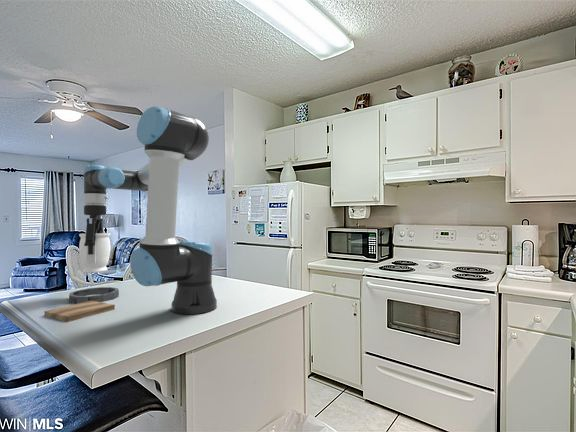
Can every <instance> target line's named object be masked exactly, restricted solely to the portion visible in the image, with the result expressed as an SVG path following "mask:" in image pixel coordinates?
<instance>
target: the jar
mask: <svg viewBox="0 0 576 432" xmlns="http://www.w3.org/2000/svg"><path fill="white" fill-rule="evenodd" d="M78 236H79V237H80V240H79V244H78V245H79V246H78V254H79V258H80V264H81V265H82V267H83V269H82V273H84V274H85V273H86V274H92V273H93V274H94V273H95V274H96V273H103V272H107V271H108V270H109V269H108V267H107V265H108V263H109V262H110V255H111V249H112V248H111V247H112V245H111V239H110V236H111V232H103V233H96V234H95V236H96V240H95V246H96V263H87V246H84V244H85V239H86V232H84V233H79V234H78Z"/></svg>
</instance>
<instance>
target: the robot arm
mask: <svg viewBox="0 0 576 432" xmlns="http://www.w3.org/2000/svg"><path fill="white" fill-rule="evenodd" d="M136 138H137V140H138V141H139V143H141V144H142V145H144V153H145V155H146V156H148V157H149V158H148V159H149V160H148V161H149V162H147V163H146V164H145V165H144V166H142V167H141V168H140V169H137V171H133V170H127V169H126V170H125V169H120V168H118V167H115V166H112V167H111V166H108V167H106V166H104V165H99V164H87V165H84V168H83V204H84V206H83V214H84V215H85V216H89V218H86V230H85V233H86V239H85V244H84V246H87V263H96V246H95V240H96V236H95V234H96V233H104V219H103V218H101V216H105V215H107V206H106V204H107V200H108V199H109V197H108V196H107V189H108V190H109V189H111V190H123V191H124V190H126V191H137V192H138V191H139V192H147V198H146V199H147V200H146V201H147V202H146V217H145V218H146V219H145V236H144V237H143V238H141V239H140V241H139V246H138V248H136V249H133V251H132V253H131V255H130V259H129V265H130V269H131V273H132V276H133V277H134V279H135V281H136V282H137V283H138V284H139V285H141V286H143V287H153V286H155V287H157V286H161V285H165V284H171V283H176V290H175V293H174V296H173V300H172V301H171V312H172V313H174V314H180V315H197V314H203V313H208V312H211V311H214V310H215V309H217V306H218V305H217V304H218V303H217V298H216V296H215V291H214V288H213V283H212V281H213V280H212V279H213V272H212V270H213V252H212V250H213V249H212V246H211V244H209V243H207V242H194V241H184V240H178V238H177V237H176V223H177V209H178V208H177V206H178V205H177V204H178V189H179V186H178V185H179V173H180V172H179V169H180V167H181V166H182V165H183V164H185V163H186V162H188V161H194V160H195V159H197V158H199V157H201V156H202V154H203V153H205V151H206V150H207V148H208V145H209V142H210V141H209V138H210V137H209V131H208V129H207V127H206V126H205V124H204V123H203V122H202V121H201V120H199V118H195V117H193V116H189V115H186V114H183V113H180V112H177V111H174V110H171V109H169V108H165V107H160V106H150V107H148V108H146V110H145V111H143V113H142V114H141V116H140V118H139V120H138V122H137V127H136Z"/></svg>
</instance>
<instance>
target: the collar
mask: <svg viewBox="0 0 576 432" xmlns="http://www.w3.org/2000/svg"><path fill="white" fill-rule="evenodd" d="M119 291H120V290H119V288H118V287H111V286H106V287H105V286H104V287H103V286H100V287H99V286H98V287H91V288H90V287H89V288H84V289H83V288H82V289H79V290H74V291H72V292H69V295H68V296H69V297H68V303H71V304H78V303H83V302H87V301H96V302H102V303H105V302H107V301H112V300H115V299H117V298H119V296H120V292H119Z"/></svg>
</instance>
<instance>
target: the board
mask: <svg viewBox="0 0 576 432" xmlns="http://www.w3.org/2000/svg"><path fill="white" fill-rule="evenodd" d="M115 309H116V307H115V304H110V303H107V302H106V303H105V302H96V301H87V302H83V303H78V304H75V303H73V304H70V305H65V306H62V307H57V308H53V309H47V310H44V312H43V313H44V317H47V318H51V319H56V320H60V321H63V322H66V323H69V322H73V321H76V320H81V319H84V318H87V317H91V316H94V315H95V316H96V315H98V314H102V313H106V312H110V311H113V310H115Z"/></svg>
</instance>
